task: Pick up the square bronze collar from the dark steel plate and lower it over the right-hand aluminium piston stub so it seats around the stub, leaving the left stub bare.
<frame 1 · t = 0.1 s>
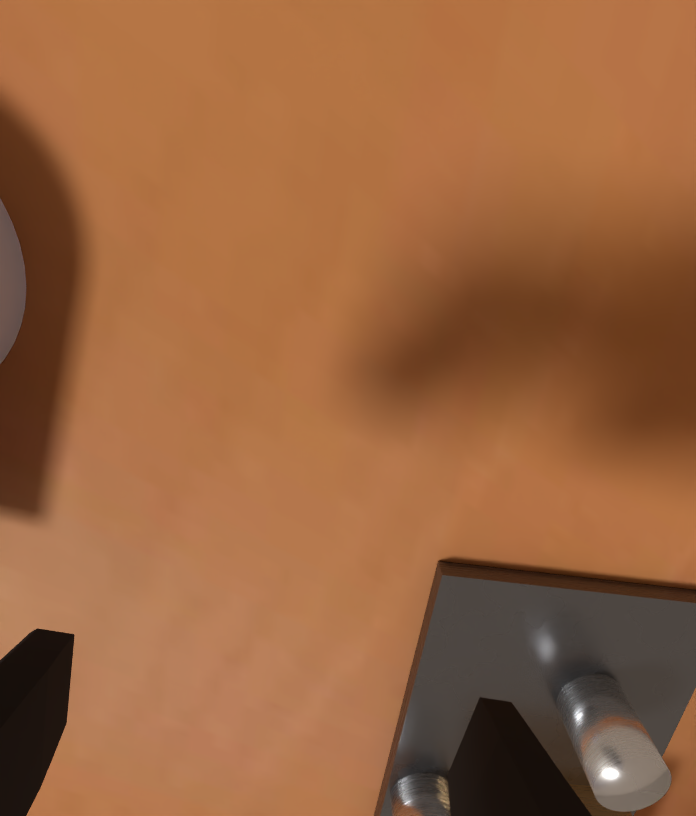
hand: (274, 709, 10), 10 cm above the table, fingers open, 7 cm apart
steel plate: (526, 733, 25), on the table
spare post: (418, 776, 26), resting on steel plate
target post: (581, 683, 24), resting on steel plate
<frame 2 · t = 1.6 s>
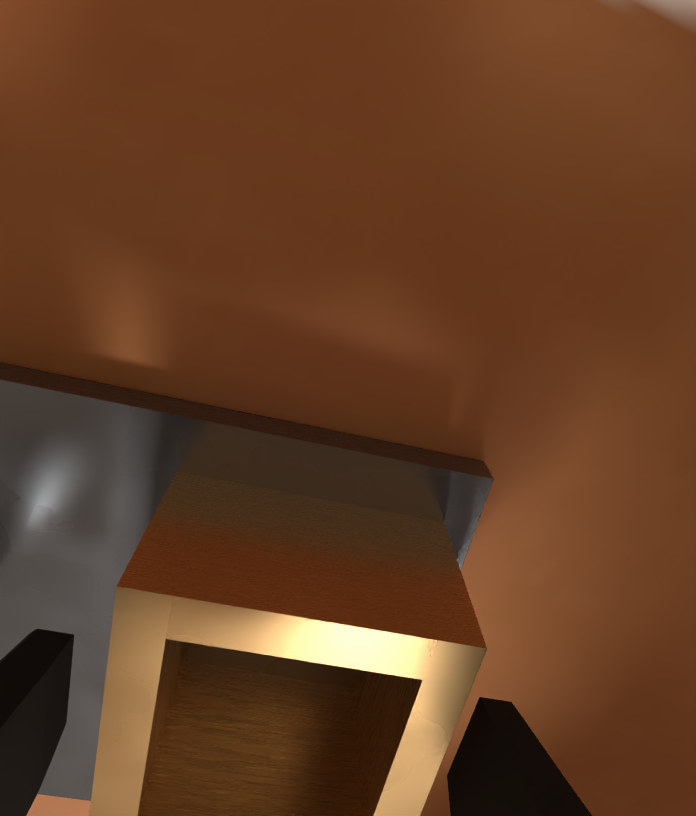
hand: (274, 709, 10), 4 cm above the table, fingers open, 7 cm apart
steel plate: (87, 602, 14), on the table
collar: (287, 606, 13), point 1 cm above the table, touching steel plate
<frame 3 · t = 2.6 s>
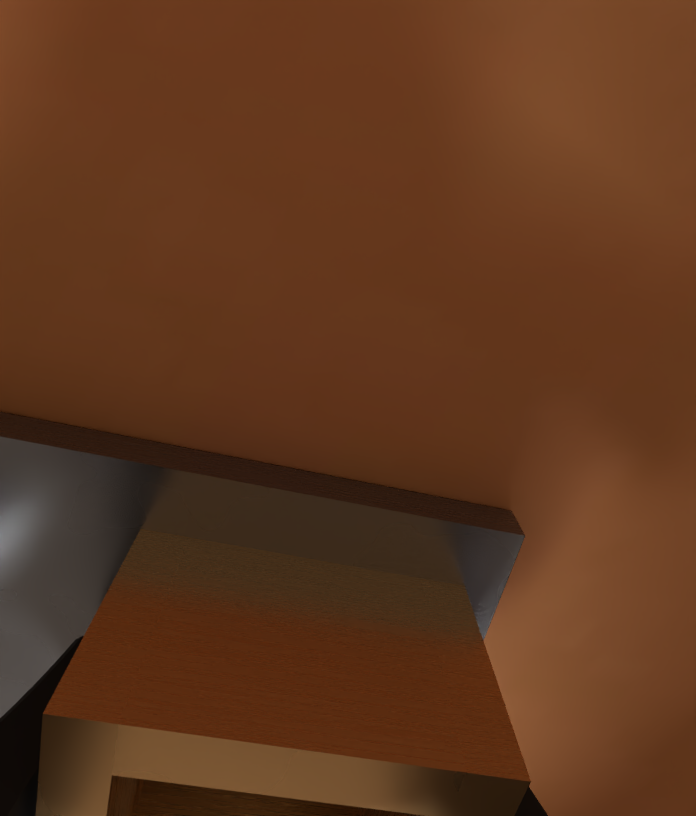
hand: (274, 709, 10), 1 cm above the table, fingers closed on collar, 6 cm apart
steel plate: (42, 672, 12), on the table
collar: (276, 681, 11), point 1 cm above the table, touching gripper, steel plate
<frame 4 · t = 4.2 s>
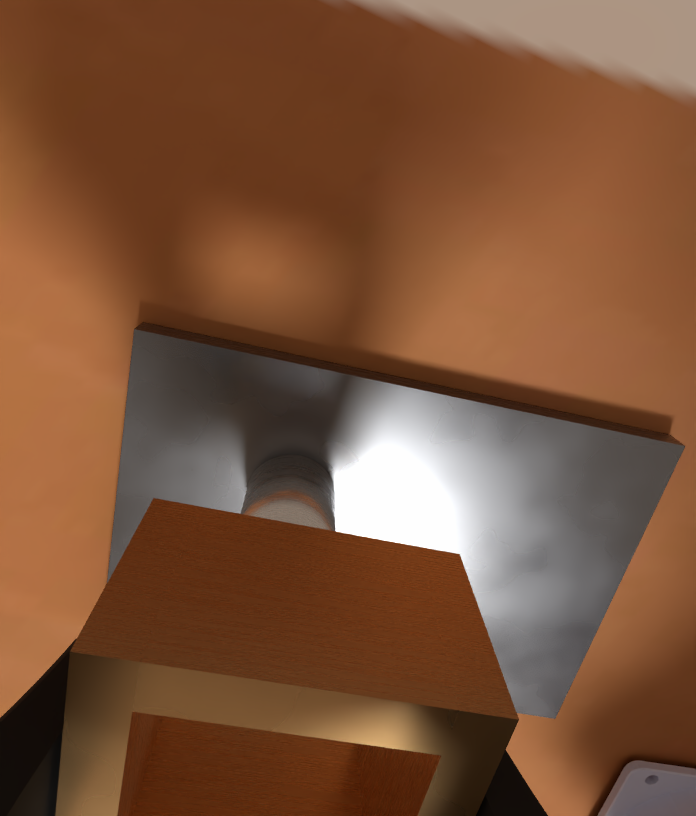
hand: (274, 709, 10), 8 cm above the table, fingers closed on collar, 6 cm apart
steel plate: (374, 538, 19), on the table
collar: (281, 647, 12), point 7 cm above the table, touching gripper
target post: (292, 481, 18), resting on steel plate
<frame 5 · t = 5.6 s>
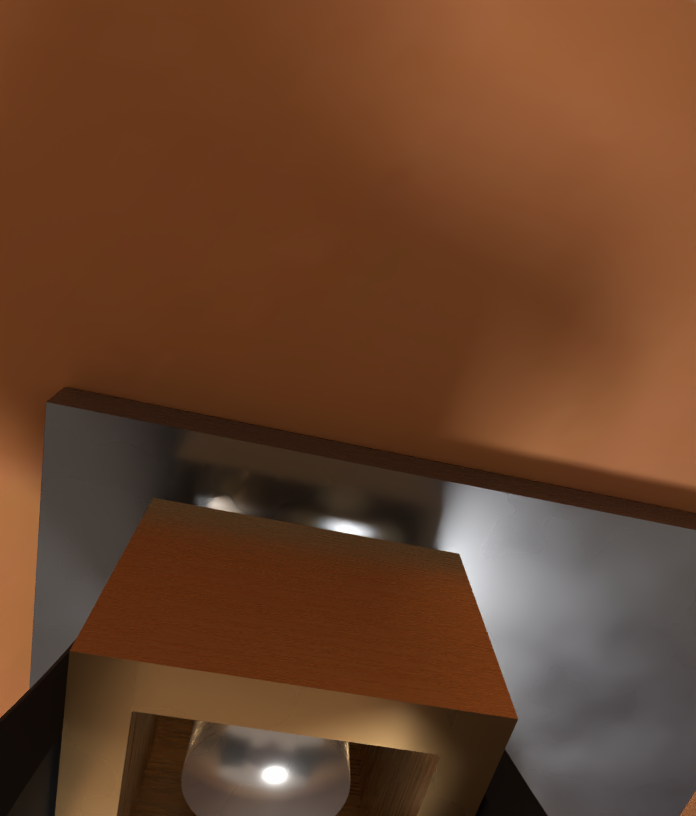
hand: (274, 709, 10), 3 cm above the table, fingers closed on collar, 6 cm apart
steel plate: (397, 671, 14), on the table
collar: (281, 647, 12), point 2 cm above the table, touching gripper
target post: (284, 599, 13), resting on steel plate
when the fingers open (3 cm above the table, at t = 6.2 s): collar stays where it is, resting on steel plate.
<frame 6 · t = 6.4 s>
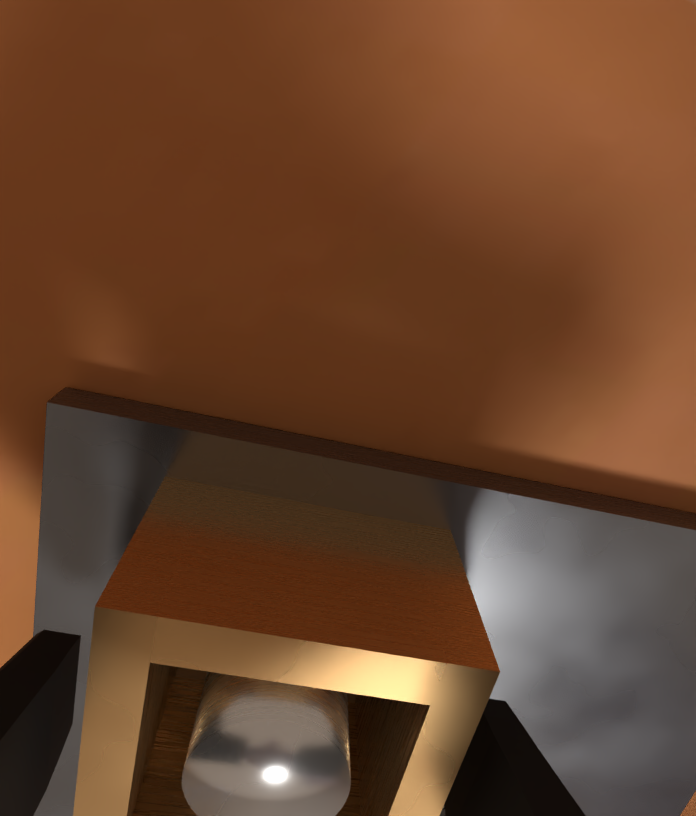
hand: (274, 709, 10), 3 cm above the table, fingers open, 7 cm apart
steel plate: (397, 671, 14), on the table
collar: (283, 618, 12), point 1 cm above the table, touching steel plate
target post: (285, 599, 13), resting on steel plate
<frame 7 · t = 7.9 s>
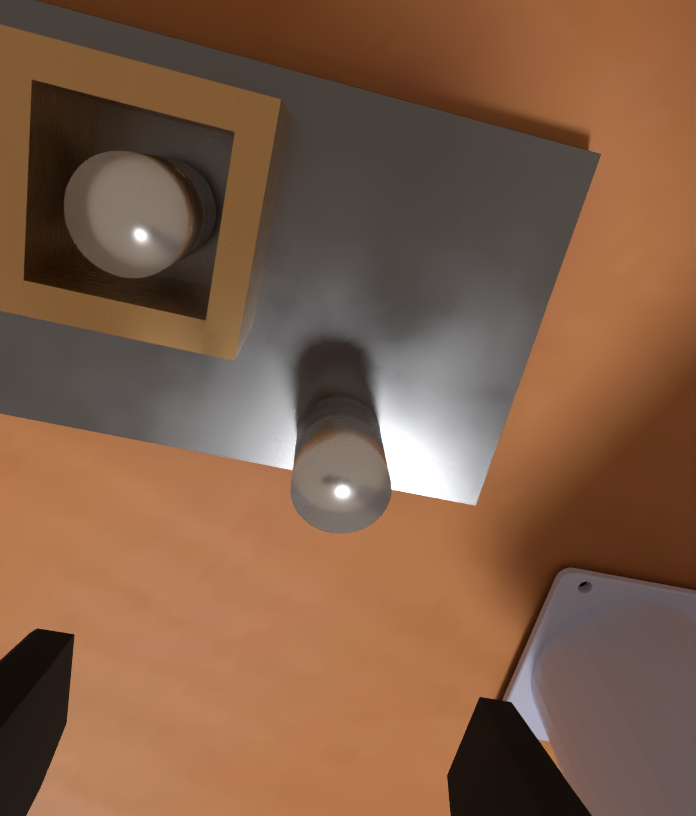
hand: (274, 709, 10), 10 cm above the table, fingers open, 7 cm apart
steel plate: (269, 283, 18), on the table
collar: (167, 202, 16), point 1 cm above the table, touching steel plate
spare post: (338, 425, 19), resting on steel plate
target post: (174, 207, 17), resting on steel plate
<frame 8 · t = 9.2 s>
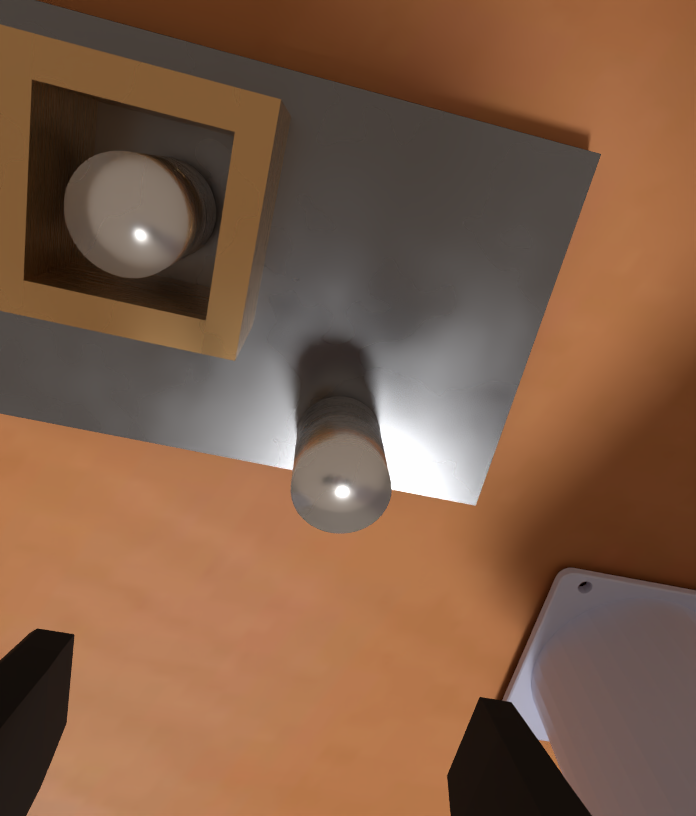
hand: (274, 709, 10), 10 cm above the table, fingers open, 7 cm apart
steel plate: (269, 283, 18), on the table
collar: (167, 202, 16), point 1 cm above the table, touching steel plate
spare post: (338, 425, 19), resting on steel plate
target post: (174, 207, 17), resting on steel plate
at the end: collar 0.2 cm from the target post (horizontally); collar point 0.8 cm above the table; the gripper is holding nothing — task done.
